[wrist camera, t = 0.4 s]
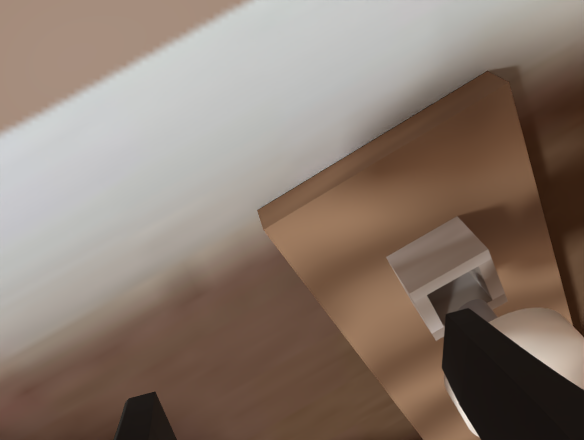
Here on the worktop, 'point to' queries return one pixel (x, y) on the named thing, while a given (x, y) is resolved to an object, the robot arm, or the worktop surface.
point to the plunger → (535, 341)
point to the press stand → (423, 241)
